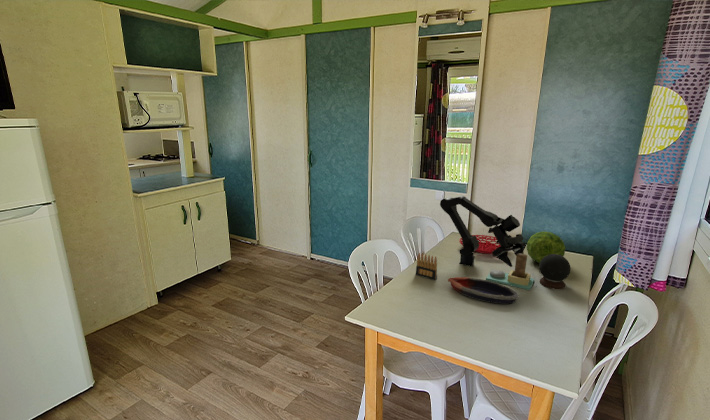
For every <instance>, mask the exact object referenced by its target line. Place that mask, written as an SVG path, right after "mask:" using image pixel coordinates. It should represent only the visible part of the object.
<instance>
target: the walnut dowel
mask: <svg viewBox="0 0 710 420" xmlns="http://www.w3.org/2000/svg"><path fill="white" fill-rule="evenodd" d="M515 257H516V258H515V265H514V270H515V272H514V276H515V277H520V278H524V277H525V272H526V267H527V266H526V265H527V259H528V255H527V254H525V253H524V254H521V253H519V254H517V256H516V255H515Z"/></svg>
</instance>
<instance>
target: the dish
mask: <svg viewBox="0 0 710 420" xmlns="http://www.w3.org/2000/svg"><path fill="white" fill-rule="evenodd" d="M447 281H448V283H450V287H452V289H453V290H455V291H456V292H458V293H459V294H461V295H464V296H467V297H469V298H471V299H476V300H479V301H482V302H488V303H494V304H512V303H515V301H517V299H519V294H518V293H517V292H516V290H514V289H512V288H510V287H508V286H507V285H504V284H502V283H497V282H493V281H489V280H486V279H481V278H476V277H469V276H467V277H466V276H464V277H463V276H459V277H458V276H457V277H449V278H448V280H447Z"/></svg>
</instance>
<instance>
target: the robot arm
mask: <svg viewBox="0 0 710 420" xmlns="http://www.w3.org/2000/svg"><path fill="white" fill-rule="evenodd" d="M457 205H458V206H459V205H460V206H462V207H463V208H464V209H466V211H467V210H468V212H470V213H472V214H474V215H475V216H476V217H477V218H479V220H480V222H481V223H482V224H483V226H486V227H487V228H488V230H487V233H488V234H491V233H492V234H493V235H494V237H496V238H495V239H497V240H495V241H496V242H495V243H499V244H500V246H501V247H498V248H497V249H495V250H494V251H492V253H491V255H492V257H494V258H496V259H498V260H499V261H501V262H503V263H504V264H506V265H507V266H509V268H512V267H513V264H512V261H511V259H510V257H509V256H508V255H509V252H510V251H512V252H513V254H514V255H515V257H516V256H517V254H519V253H521V254H525V253H524V251H525V249H526V248H527V243H526V242H523V240H524V236H523V235H522V233H517V234H515V236H512V235H511V234H508V233H510V232H512V231H514V230H515V229H517V228H519V227H520V226H521V223H520V221H519V220H518V218H516V217H514V216H513V215H512V214H510V215H508V216H507V217H506V218H502V217H500V216H498V215H497V214H496V213H493V212H492V211H488V210H485V209H483V208H482V207H480V206H479V205H477V204H476V203H474V202H473V201H471V200H470V199H468V198H467V197H466V196H464V195H461V196H458V197H451V196H448V197H445V198H443V199H441V200H440V203H439V206H440V207H441V209H442V210H443V211H444V213H446V214H447V215H448V216H449V217H450V219H451V221H452V223H453V224H454V227H455V228H456V230H457V232H458V234H459V235H460V237H461V238H462V240H461V241H462V244H463V245H462V248H460V249H459V255H460V259H459V263H458V264H459V265H463V266H466V267H472V266H473V265H474V264H475V258H476V257H475V253H476V251H475V250H477V249H478V248H479V243H478V242H480V241H479V240H477V238H478V237H477V238H476V236H472V235H473V234H471V233H470V231H469V230H468V227H466V224H465V222H464V220H463V219H462V217H461V215H460V214H459V212H458V207H457ZM499 244H498V245H499ZM507 249H508V250H507Z"/></svg>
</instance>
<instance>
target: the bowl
mask: <svg viewBox="0 0 710 420" xmlns="http://www.w3.org/2000/svg"><path fill="white" fill-rule="evenodd" d="M471 235H472V236H476V238H477V240H478V241H479V242H478V243H479V248H478V249H477V250H475V252H477V253H481V254H488V255H489V254H491V255H492V251H494V250H495V249H497V248H498V247H501V246H500V244H499V243H496V241H497V239H496V237H495V236H492V235H485V234H471ZM459 244H461V245H462V246H463V244H462V237H461V238H460V239H459ZM461 245H460V246H461ZM507 250H508V249H507Z"/></svg>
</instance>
